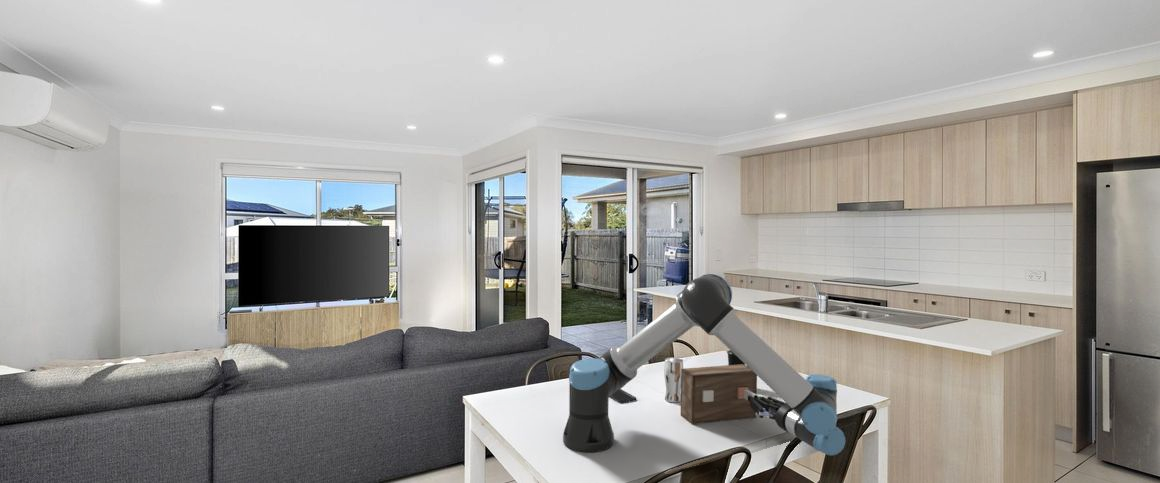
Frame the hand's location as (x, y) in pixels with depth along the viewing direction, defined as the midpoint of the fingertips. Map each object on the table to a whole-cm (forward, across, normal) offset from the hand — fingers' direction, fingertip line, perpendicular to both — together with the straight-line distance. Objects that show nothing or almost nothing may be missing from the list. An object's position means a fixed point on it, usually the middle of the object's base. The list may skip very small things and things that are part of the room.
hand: (746, 394), depth 168 cm
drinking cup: (+33, +18, -9) cm, 39 cm away
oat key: (+4, -13, -2) cm, 14 cm away
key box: (+6, -6, -9) cm, 13 cm away
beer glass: (+25, -14, -9) cm, 30 cm away
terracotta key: (+4, 0, -2) cm, 5 cm away
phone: (+34, -32, -10) cm, 48 cm away
